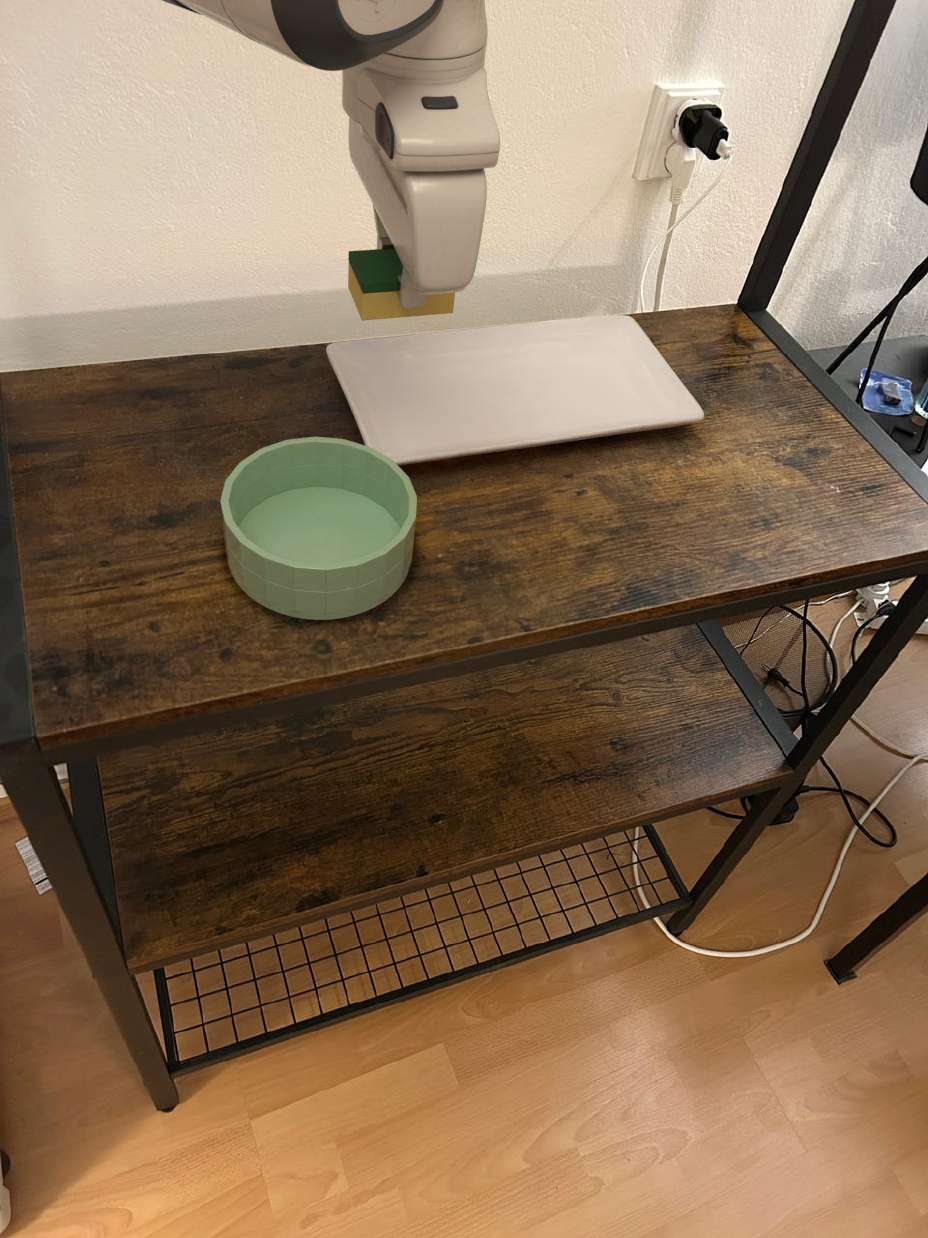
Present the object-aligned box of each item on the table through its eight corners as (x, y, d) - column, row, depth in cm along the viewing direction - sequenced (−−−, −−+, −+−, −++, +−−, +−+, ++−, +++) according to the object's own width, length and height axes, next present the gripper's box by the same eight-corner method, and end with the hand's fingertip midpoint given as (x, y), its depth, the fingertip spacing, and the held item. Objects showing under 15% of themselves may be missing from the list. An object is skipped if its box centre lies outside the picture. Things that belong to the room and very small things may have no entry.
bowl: (243, 634, 69) (238, 582, 65) (214, 501, 78) (208, 447, 74) (433, 603, 73) (440, 552, 69) (385, 480, 82) (389, 427, 78)
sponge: (361, 321, 71) (362, 283, 68) (347, 287, 73) (348, 250, 71) (453, 313, 72) (457, 276, 70) (436, 280, 75) (439, 244, 73)
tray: (700, 444, 90) (712, 414, 87) (372, 494, 80) (373, 461, 78) (622, 341, 100) (631, 310, 97) (322, 373, 90) (322, 341, 88)
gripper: (327, 19, 66) (328, 213, 77) (405, 157, 54) (393, 365, 65) (416, 19, 68) (404, 209, 79) (511, 153, 56) (482, 357, 66)
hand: (400, 281), depth 72 cm, fingers closed on sponge, 4 cm apart
